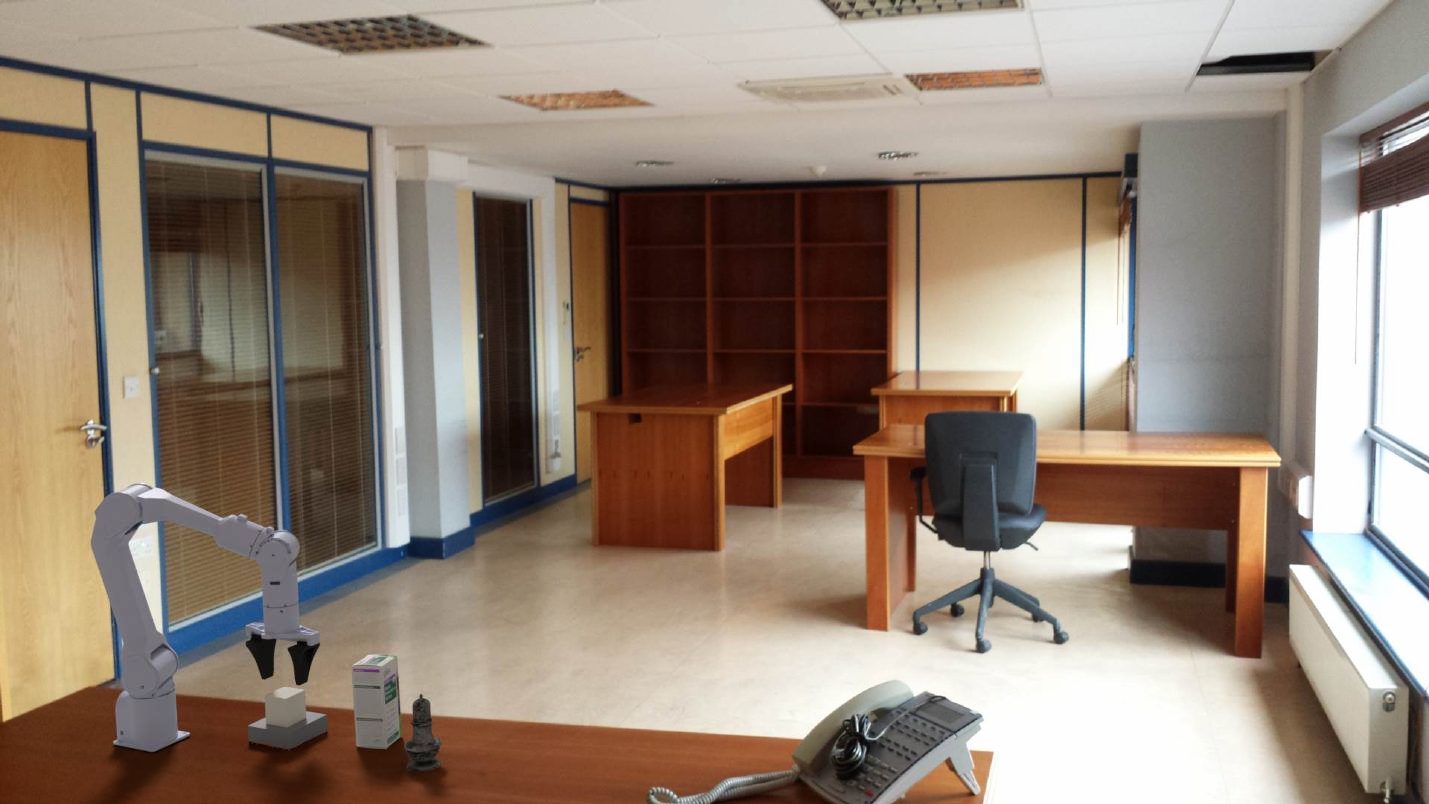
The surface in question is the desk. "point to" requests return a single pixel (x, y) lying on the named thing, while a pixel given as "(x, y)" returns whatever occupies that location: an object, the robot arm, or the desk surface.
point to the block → (288, 731)
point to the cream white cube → (285, 706)
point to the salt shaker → (422, 739)
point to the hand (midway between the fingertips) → (284, 680)
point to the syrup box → (376, 701)
